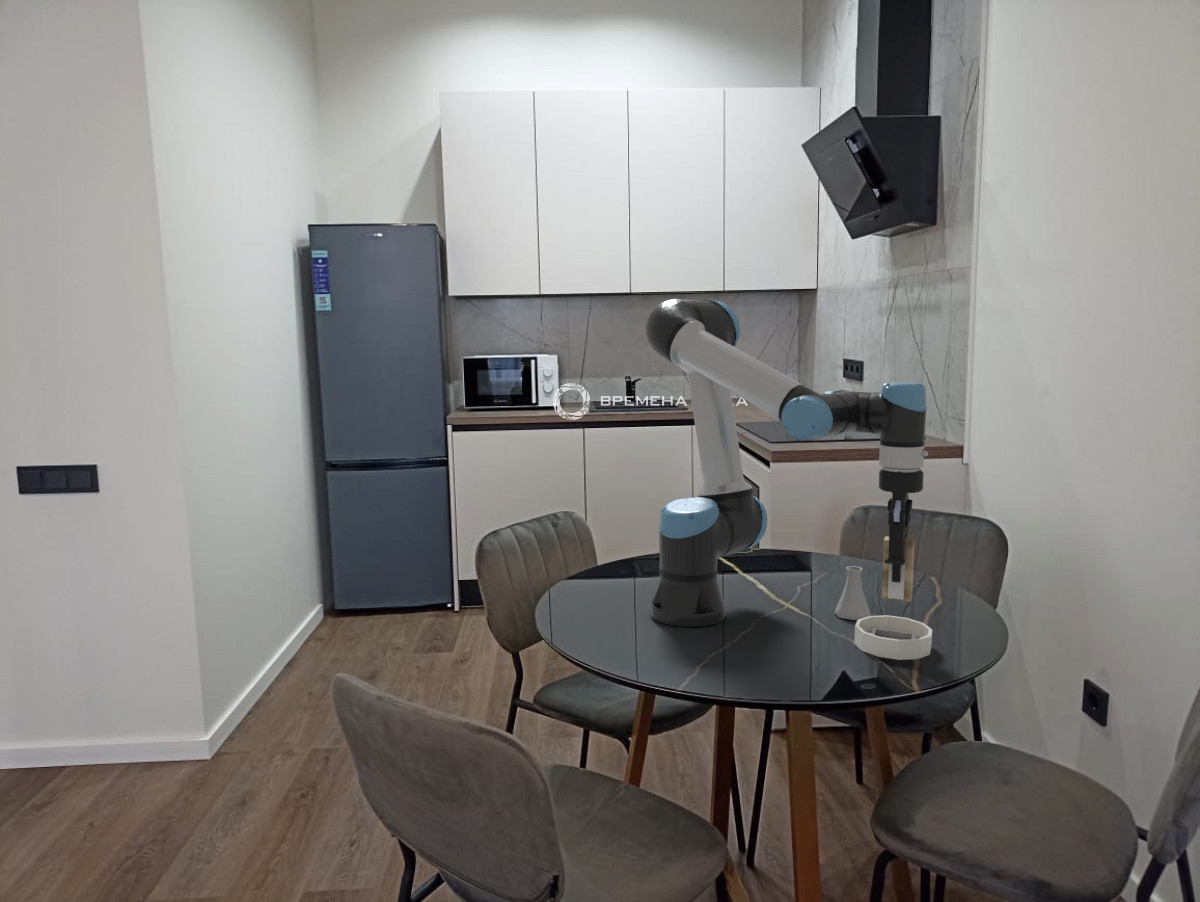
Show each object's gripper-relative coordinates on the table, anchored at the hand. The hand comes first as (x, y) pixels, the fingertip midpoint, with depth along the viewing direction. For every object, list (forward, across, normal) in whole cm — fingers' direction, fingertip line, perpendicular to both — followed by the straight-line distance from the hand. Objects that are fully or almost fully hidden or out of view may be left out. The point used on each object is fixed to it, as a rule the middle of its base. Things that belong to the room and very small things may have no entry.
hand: (896, 595), depth 159 cm
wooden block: (+1, 0, 0) cm, 1 cm away
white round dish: (+10, 0, 0) cm, 10 cm away
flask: (+10, +15, +10) cm, 20 cm away
